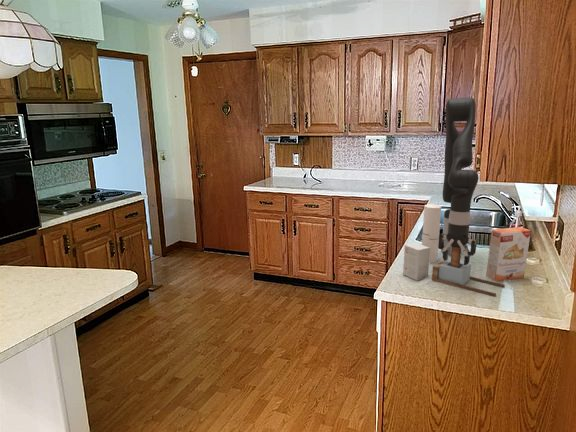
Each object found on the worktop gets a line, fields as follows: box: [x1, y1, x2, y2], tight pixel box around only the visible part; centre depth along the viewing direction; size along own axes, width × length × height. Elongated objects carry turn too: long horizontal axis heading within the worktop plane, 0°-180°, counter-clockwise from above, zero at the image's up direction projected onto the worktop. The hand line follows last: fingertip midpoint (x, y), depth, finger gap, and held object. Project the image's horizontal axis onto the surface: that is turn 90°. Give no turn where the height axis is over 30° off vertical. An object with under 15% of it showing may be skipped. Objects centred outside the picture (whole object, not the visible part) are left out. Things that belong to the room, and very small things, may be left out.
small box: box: [402, 242, 430, 281], centre depth 182 cm, size 8×6×13 cm
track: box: [431, 258, 506, 297], centre depth 173 cm, size 11×24×7 cm, turn 49°
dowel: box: [450, 247, 462, 268], centre depth 175 cm, size 3×3×12 cm
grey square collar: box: [438, 258, 472, 285], centre depth 176 cm, size 9×9×6 cm
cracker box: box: [485, 226, 532, 282], centre depth 178 cm, size 14×6×21 cm, turn 105°
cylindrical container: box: [421, 204, 442, 264], centre depth 200 cm, size 7×7×25 cm
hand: (455, 262), depth 175 cm, fingers open, 7 cm apart
